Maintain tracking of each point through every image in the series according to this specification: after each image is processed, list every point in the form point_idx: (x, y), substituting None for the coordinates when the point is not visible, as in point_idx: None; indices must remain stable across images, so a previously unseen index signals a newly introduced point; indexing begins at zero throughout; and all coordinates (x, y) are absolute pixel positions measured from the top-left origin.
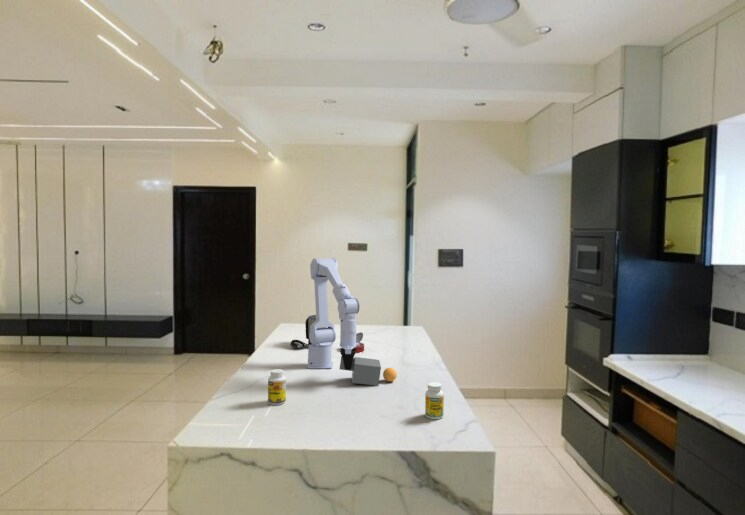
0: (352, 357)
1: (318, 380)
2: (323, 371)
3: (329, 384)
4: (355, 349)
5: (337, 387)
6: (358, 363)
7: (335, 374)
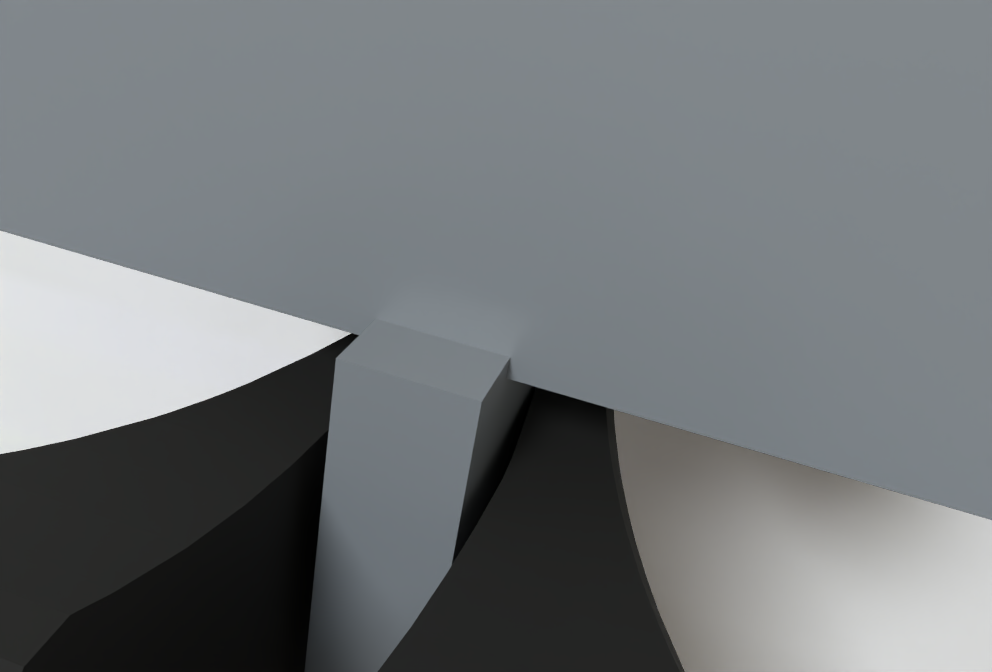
0: (665, 670)
1: None
2: (21, 440)
3: (665, 550)
4: (47, 645)
5: (884, 491)
6: (922, 328)
7: (146, 321)
